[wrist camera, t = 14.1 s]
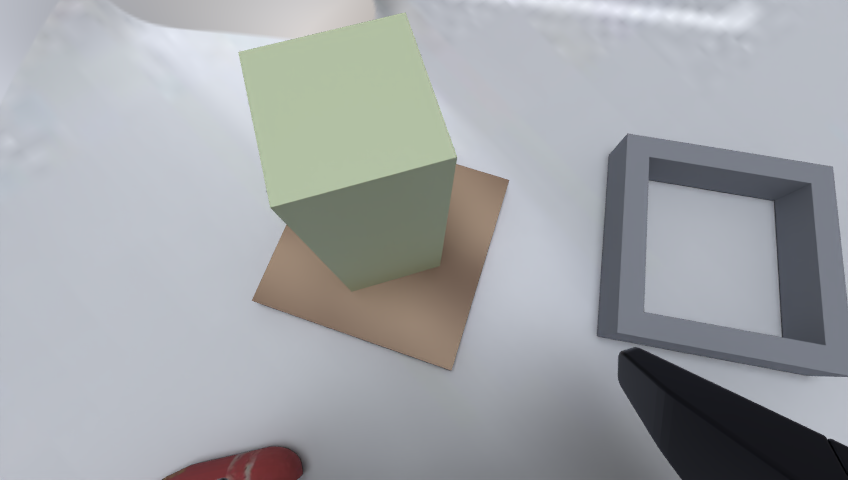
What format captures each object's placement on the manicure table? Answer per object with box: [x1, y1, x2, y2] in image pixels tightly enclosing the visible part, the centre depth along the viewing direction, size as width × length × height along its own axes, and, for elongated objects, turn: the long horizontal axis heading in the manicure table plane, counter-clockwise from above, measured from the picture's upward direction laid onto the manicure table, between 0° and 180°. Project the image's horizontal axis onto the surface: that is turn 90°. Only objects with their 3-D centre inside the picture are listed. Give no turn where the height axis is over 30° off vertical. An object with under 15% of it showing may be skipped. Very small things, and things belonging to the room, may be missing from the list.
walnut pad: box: [252, 164, 509, 370], centre depth 19 cm, size 9×9×1 cm
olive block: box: [239, 13, 457, 292], centre depth 14 cm, size 4×4×10 cm
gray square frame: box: [597, 134, 848, 377], centre depth 18 cm, size 9×9×2 cm
